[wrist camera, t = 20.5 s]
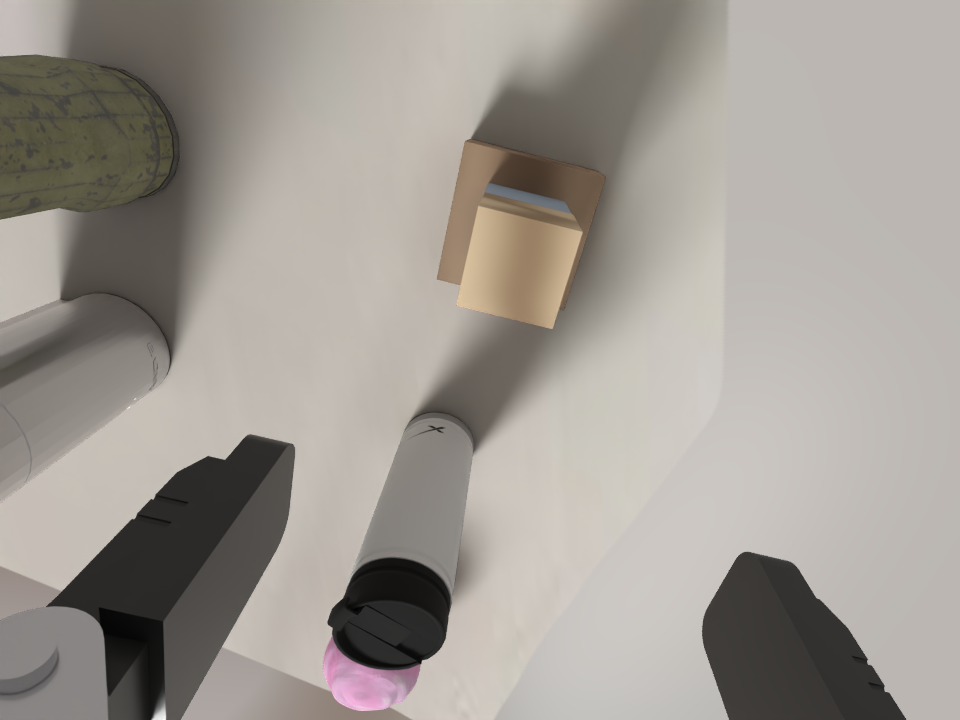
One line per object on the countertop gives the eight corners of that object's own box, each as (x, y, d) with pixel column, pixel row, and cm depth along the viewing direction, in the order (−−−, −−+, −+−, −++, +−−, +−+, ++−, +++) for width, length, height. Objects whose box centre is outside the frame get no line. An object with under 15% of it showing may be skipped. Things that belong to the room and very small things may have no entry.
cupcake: (331, 609, 57) (295, 703, 47) (371, 559, 53) (340, 650, 44) (403, 646, 58) (381, 744, 49) (446, 600, 55) (431, 696, 46)
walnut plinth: (444, 264, 40) (436, 279, 37) (470, 138, 37) (465, 141, 33) (559, 293, 41) (563, 310, 37) (597, 171, 37) (605, 177, 33)
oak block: (465, 278, 32) (456, 305, 27) (484, 192, 29) (478, 205, 25) (548, 298, 32) (552, 329, 27) (573, 214, 30) (582, 231, 25)
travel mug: (428, 395, 45) (366, 582, 27) (488, 439, 47) (468, 646, 28) (385, 442, 47) (301, 644, 29) (444, 483, 49) (399, 701, 31)
